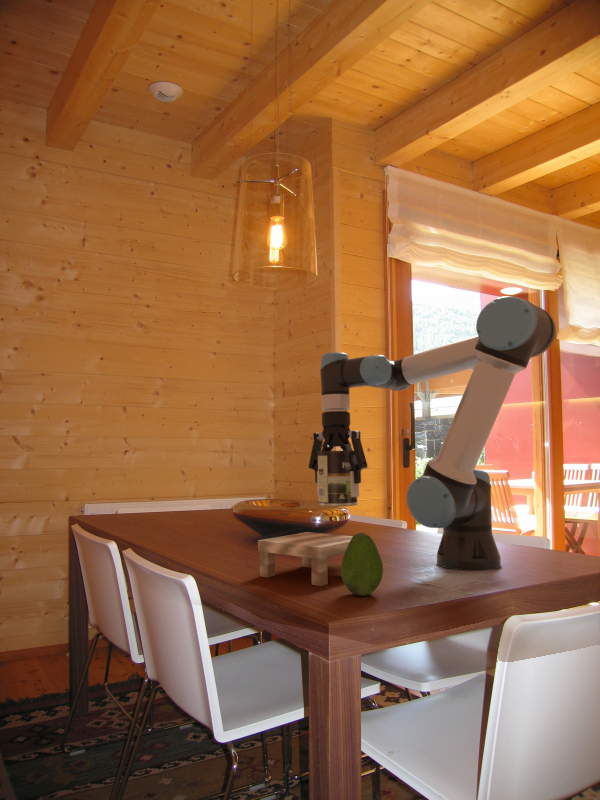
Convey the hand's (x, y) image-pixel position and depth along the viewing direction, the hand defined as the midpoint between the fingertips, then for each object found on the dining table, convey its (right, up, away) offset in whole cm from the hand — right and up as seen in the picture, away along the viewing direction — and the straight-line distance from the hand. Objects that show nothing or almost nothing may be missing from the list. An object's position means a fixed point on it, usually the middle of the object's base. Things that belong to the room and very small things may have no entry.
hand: (338, 496), depth 160 cm
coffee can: (0, -2, 0) cm, 3 cm away
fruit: (+2, -13, -41) cm, 43 cm away
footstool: (-7, -15, -20) cm, 26 cm away
